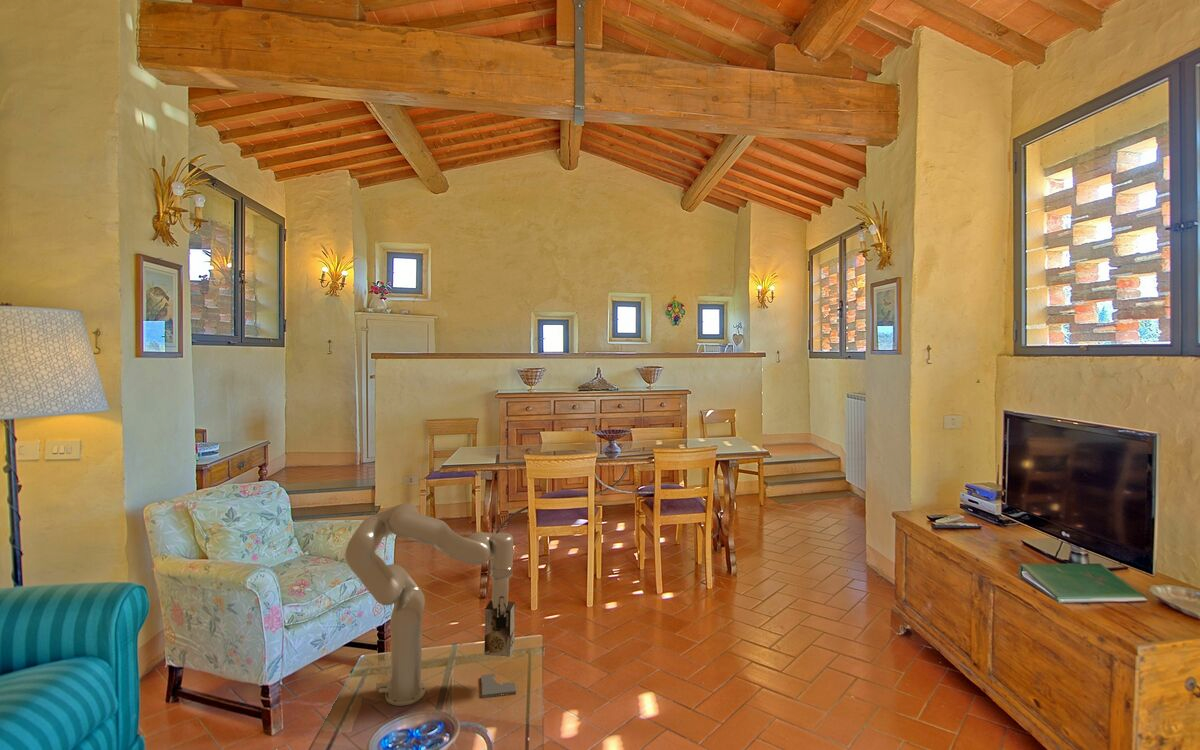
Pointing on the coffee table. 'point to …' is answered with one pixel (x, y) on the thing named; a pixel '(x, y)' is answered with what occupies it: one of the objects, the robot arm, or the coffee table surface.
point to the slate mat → (495, 687)
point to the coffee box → (499, 631)
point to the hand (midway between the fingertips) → (500, 621)
